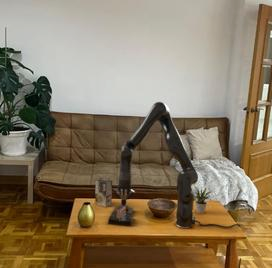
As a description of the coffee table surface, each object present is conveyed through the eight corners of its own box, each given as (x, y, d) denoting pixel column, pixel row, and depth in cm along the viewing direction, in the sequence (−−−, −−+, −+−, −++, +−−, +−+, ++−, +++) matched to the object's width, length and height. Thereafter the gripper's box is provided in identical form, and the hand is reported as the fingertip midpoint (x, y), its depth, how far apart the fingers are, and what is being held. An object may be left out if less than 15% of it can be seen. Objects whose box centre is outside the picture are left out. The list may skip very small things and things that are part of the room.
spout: (122, 214, 214) (123, 205, 213) (125, 214, 213) (126, 206, 212) (116, 218, 206) (117, 210, 205) (119, 219, 205) (120, 210, 205)
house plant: (212, 218, 223) (215, 193, 220) (189, 215, 225) (192, 190, 222) (211, 209, 237) (214, 185, 234) (190, 207, 239) (192, 183, 236)
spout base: (133, 218, 215) (133, 213, 215) (130, 227, 203) (130, 222, 203) (112, 216, 217) (112, 211, 216) (107, 225, 205) (107, 219, 204)
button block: (133, 211, 227) (133, 205, 226) (130, 216, 218) (131, 210, 217) (115, 209, 228) (116, 203, 227) (112, 214, 219) (113, 208, 218)
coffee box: (111, 204, 235) (113, 180, 233) (105, 207, 230) (106, 182, 227) (100, 201, 240) (101, 177, 237) (94, 203, 235) (95, 179, 232)
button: (126, 207, 224) (126, 204, 224) (125, 209, 220) (126, 206, 220) (121, 206, 224) (121, 203, 224) (120, 208, 221) (120, 205, 220)
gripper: (136, 177, 222) (135, 203, 225) (115, 175, 223) (114, 201, 226) (135, 180, 215) (133, 208, 218) (113, 178, 216) (111, 206, 219)
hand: (123, 205), depth 222 cm, fingers closed
